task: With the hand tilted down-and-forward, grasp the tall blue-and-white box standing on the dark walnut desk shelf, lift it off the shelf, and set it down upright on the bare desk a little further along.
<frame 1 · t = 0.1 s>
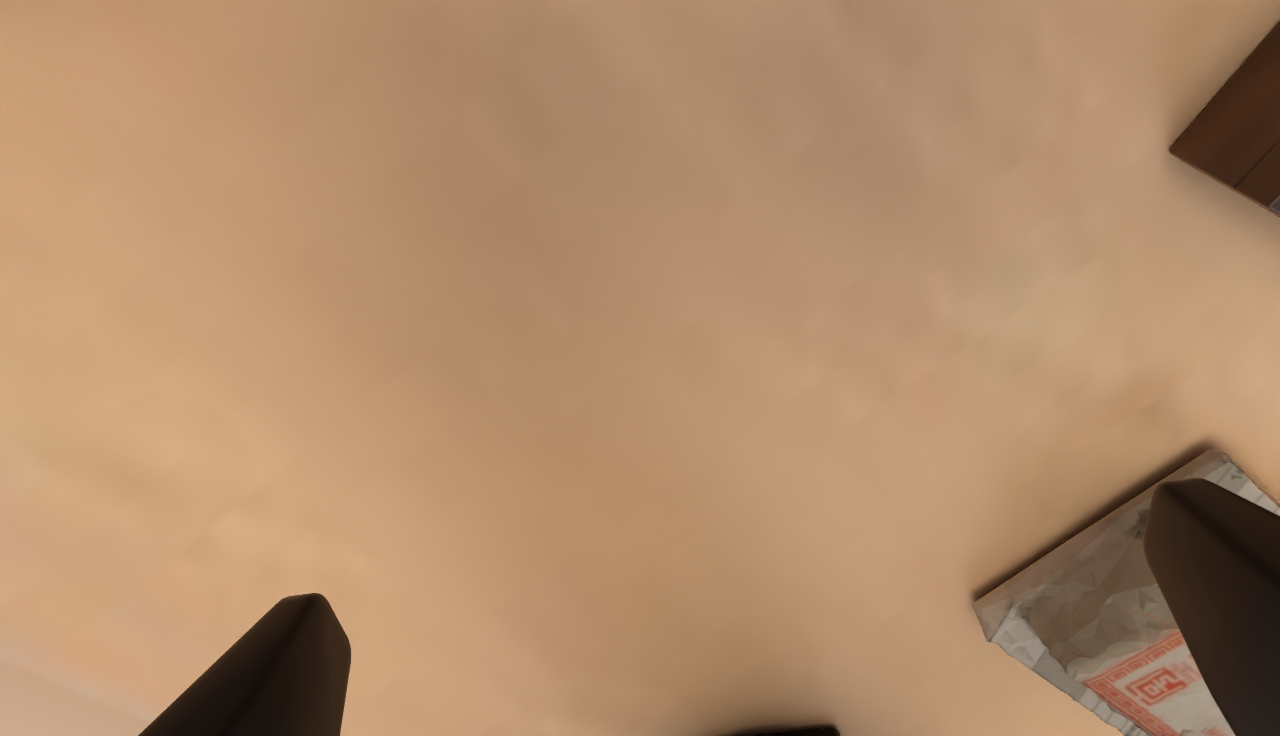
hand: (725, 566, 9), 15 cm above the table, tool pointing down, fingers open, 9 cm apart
packaged product: (1207, 631, 32), on the table
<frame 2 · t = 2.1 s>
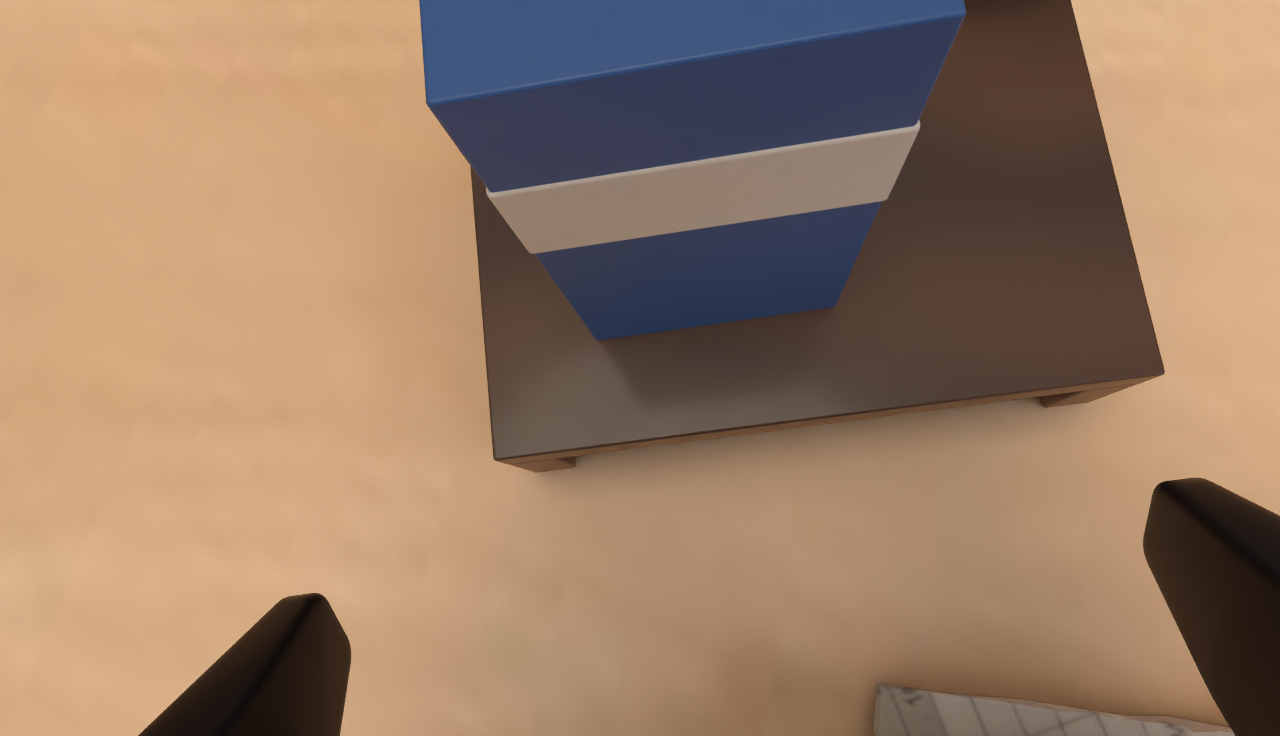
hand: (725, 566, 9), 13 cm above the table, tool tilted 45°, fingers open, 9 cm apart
shelf: (773, 247, 23), on the table
box: (697, 204, 20), point 4 cm above the table, touching shelf
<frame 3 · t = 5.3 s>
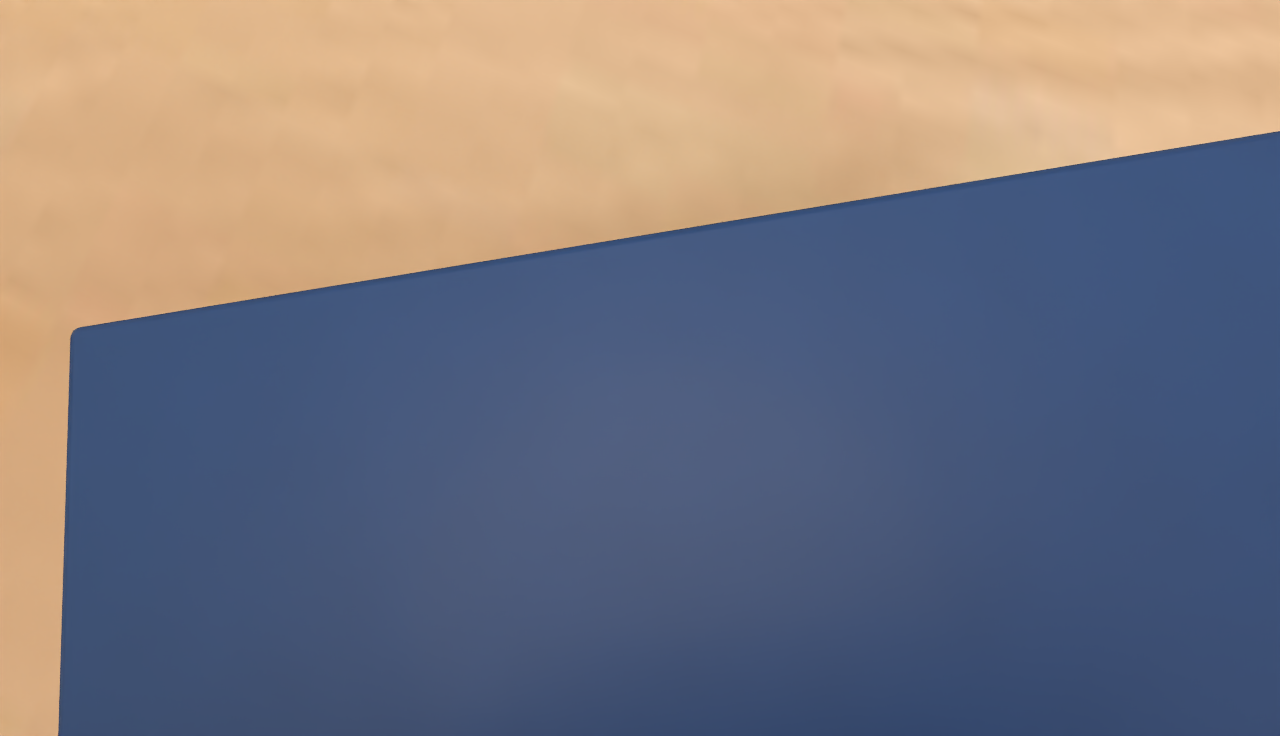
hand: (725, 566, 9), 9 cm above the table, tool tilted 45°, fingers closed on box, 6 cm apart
box: (740, 644, 14), point 4 cm above the table, touching gripper, shelf
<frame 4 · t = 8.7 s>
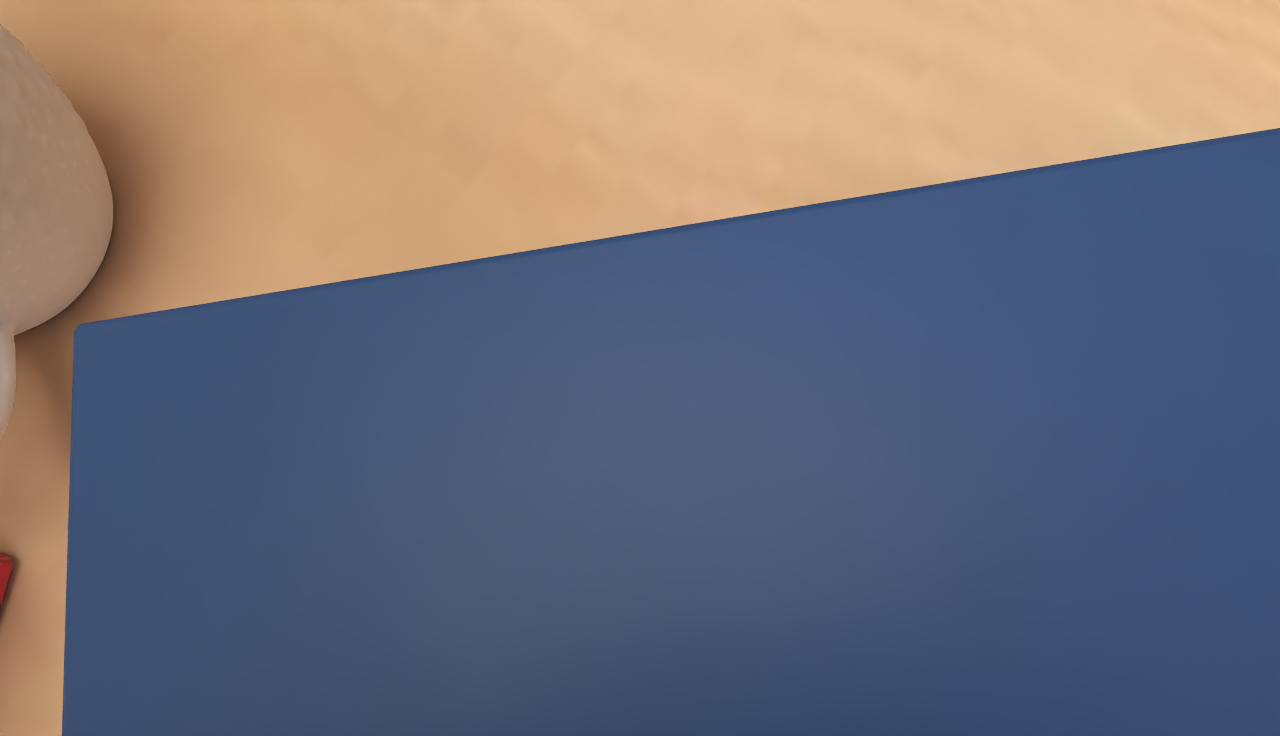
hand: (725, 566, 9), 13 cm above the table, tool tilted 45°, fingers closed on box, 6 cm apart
mug: (32, 265, 27), on the table
box: (741, 643, 14), point 8 cm above the table, touching gripper
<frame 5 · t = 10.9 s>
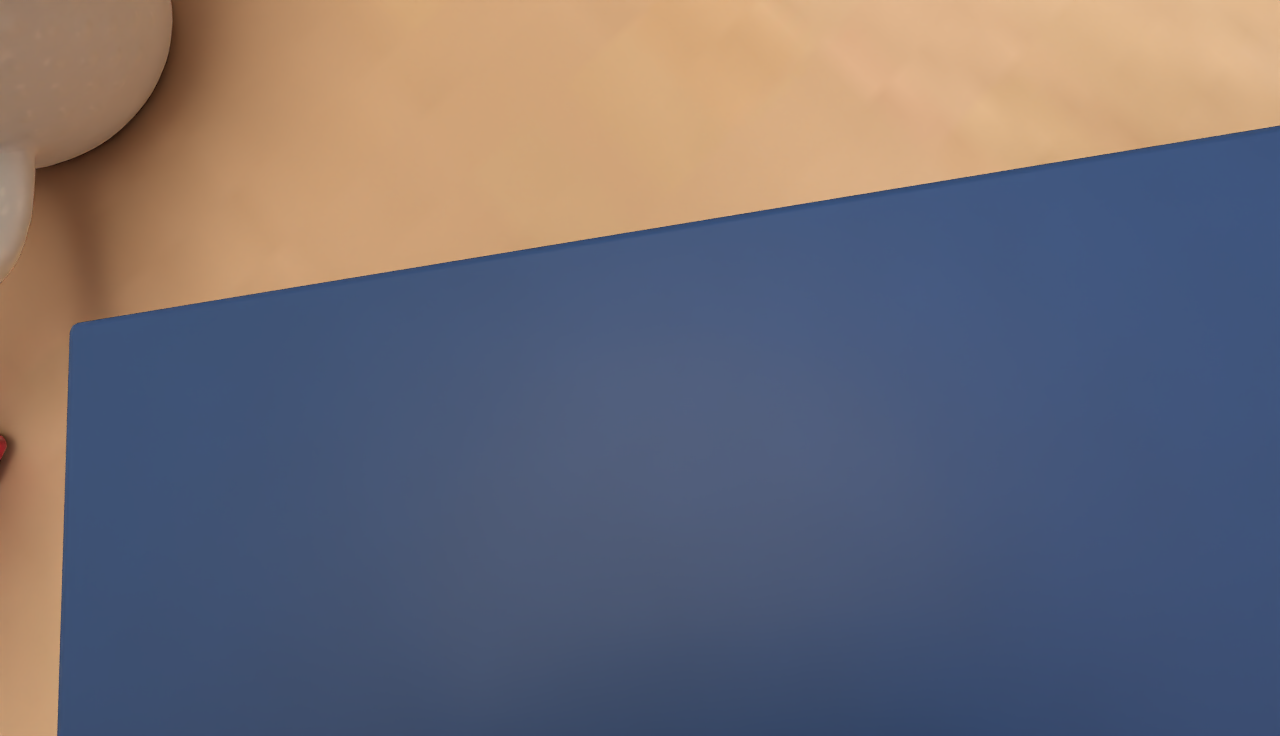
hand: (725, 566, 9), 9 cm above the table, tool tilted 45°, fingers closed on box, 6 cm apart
mug: (68, 92, 22), on the table
box: (740, 643, 14), point 3 cm above the table, touching gripper
when the fingers open (5 cm above the table, at t = 12.4 s): box stays where it is, on the table.
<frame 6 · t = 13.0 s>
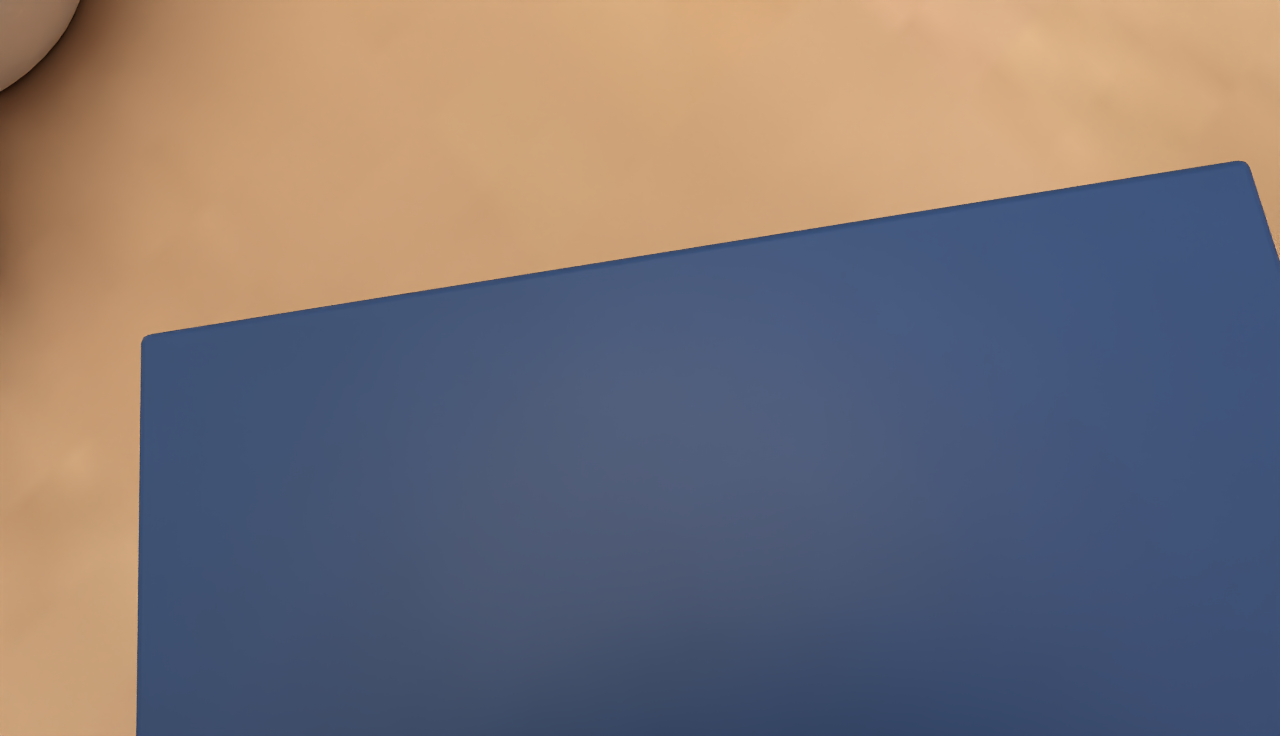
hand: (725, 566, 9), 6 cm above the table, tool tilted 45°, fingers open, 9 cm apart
box: (741, 638, 14), on the table
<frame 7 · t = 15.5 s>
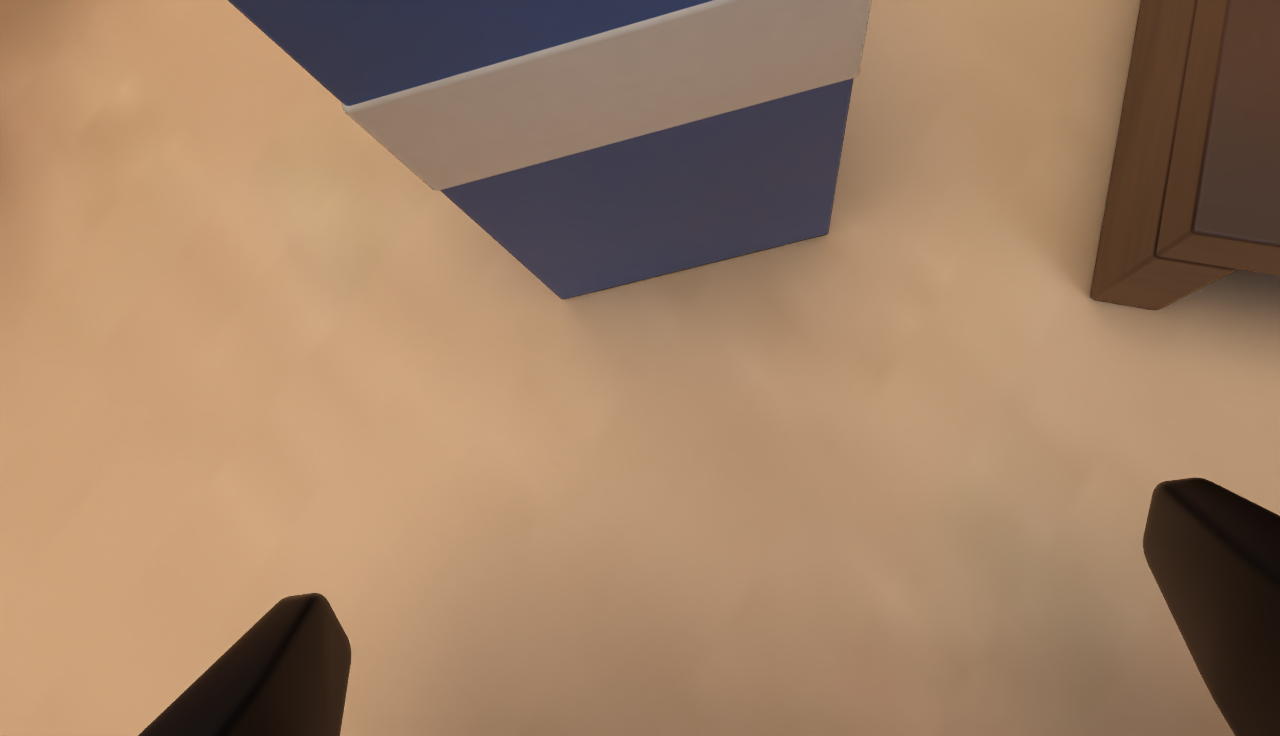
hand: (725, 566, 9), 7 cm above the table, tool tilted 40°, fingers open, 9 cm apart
box: (662, 134, 17), on the table
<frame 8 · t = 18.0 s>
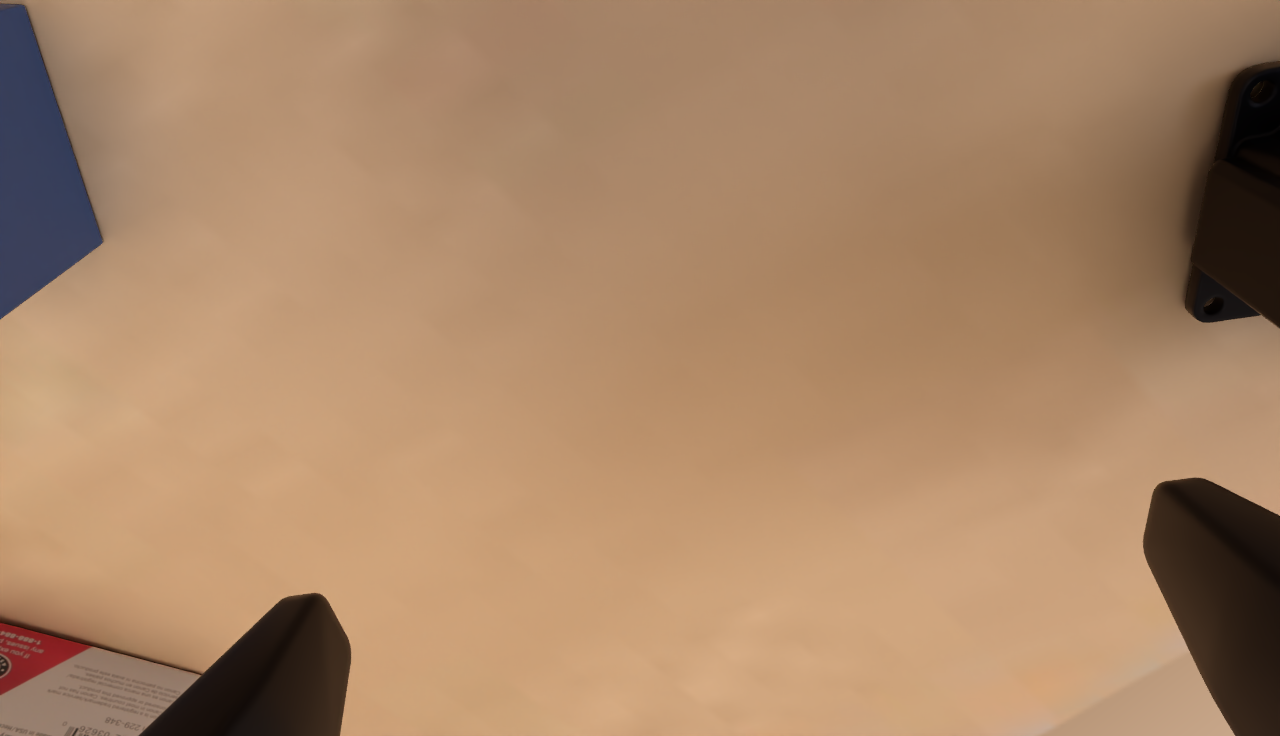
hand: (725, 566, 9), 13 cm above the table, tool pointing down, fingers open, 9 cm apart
ink box: (84, 672, 30), on the table
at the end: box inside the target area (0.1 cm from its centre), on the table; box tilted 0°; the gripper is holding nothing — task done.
